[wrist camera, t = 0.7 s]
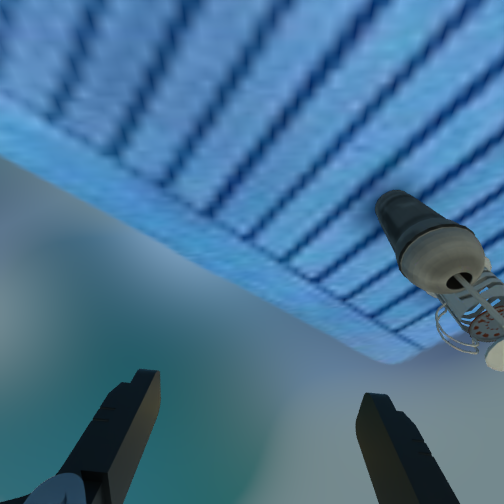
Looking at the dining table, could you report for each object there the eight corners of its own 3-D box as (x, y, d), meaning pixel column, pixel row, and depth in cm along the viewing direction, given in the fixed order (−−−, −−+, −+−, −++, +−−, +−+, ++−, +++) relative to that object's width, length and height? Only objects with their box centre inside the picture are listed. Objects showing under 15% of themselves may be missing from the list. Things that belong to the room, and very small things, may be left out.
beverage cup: (387, 170, 34) (501, 272, 18) (433, 192, 35) (579, 304, 19) (353, 218, 38) (421, 336, 22) (396, 235, 39) (490, 359, 23)
